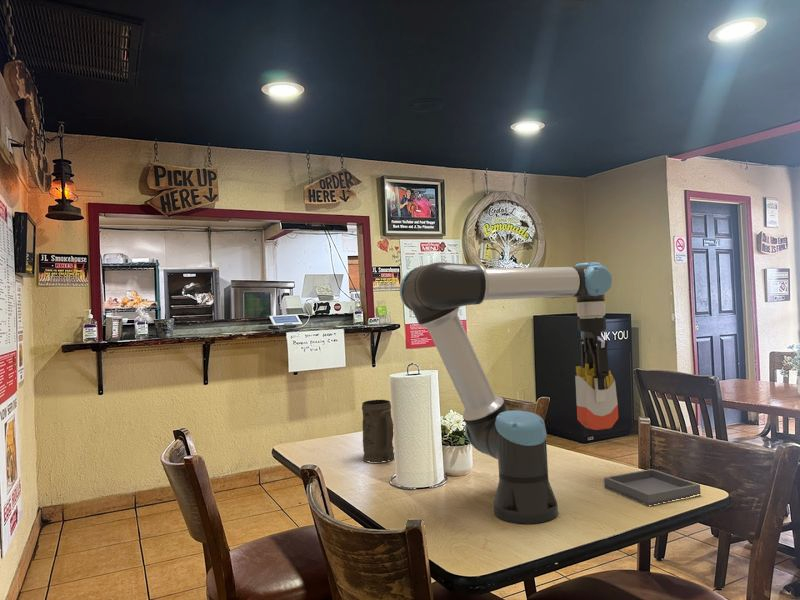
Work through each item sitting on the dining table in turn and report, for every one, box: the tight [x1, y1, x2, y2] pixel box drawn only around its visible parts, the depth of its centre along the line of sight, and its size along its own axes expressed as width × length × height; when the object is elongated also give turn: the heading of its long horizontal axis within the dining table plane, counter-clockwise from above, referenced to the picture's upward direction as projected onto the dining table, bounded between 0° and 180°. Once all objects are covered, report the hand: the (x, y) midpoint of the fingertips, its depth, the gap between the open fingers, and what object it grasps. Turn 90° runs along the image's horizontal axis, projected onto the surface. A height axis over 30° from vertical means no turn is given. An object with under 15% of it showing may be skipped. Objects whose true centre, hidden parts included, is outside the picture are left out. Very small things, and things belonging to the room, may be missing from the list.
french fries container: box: [574, 364, 619, 431], centre depth 160 cm, size 5×11×18 cm, turn 111°
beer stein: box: [361, 399, 395, 462], centre depth 191 cm, size 15×11×20 cm
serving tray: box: [603, 468, 702, 506], centre depth 146 cm, size 16×16×3 cm
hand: (596, 399), depth 160 cm, fingers closed on french fries container, 5 cm apart
